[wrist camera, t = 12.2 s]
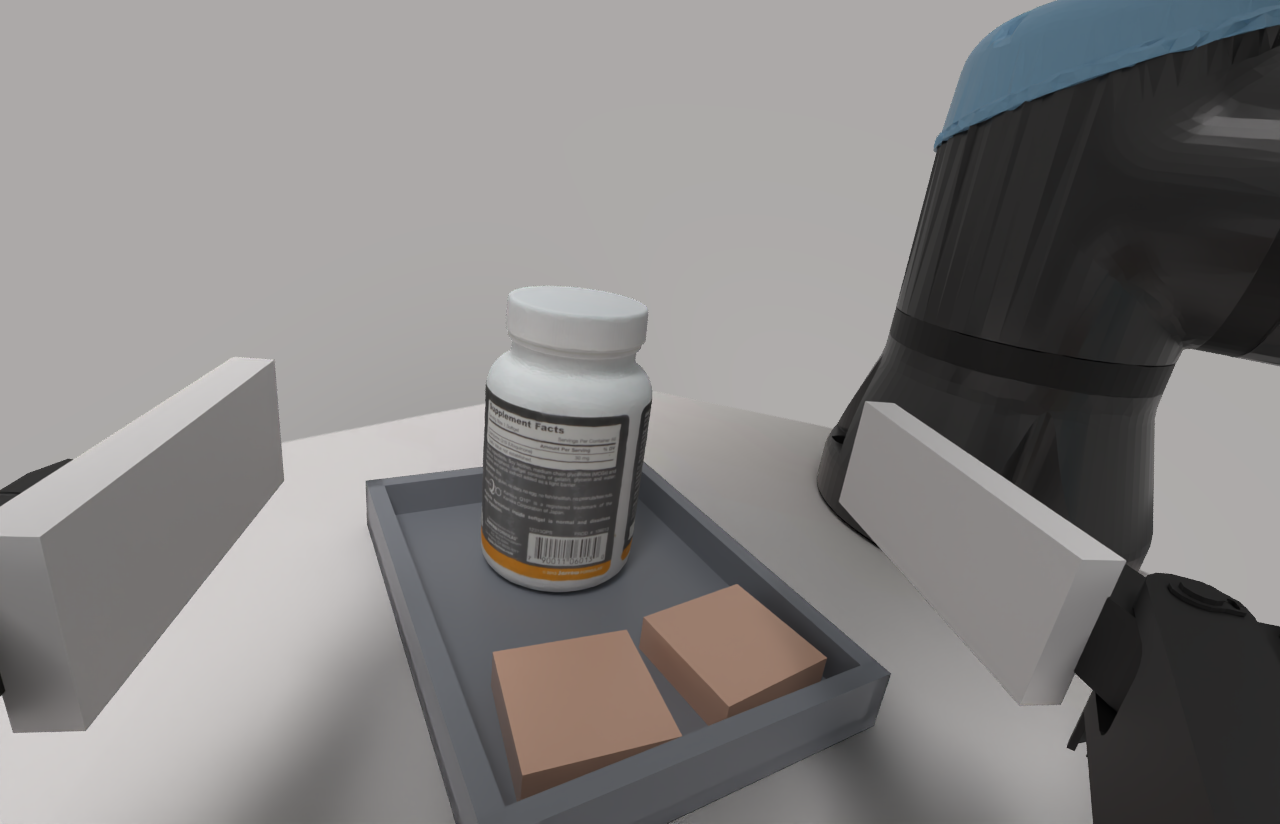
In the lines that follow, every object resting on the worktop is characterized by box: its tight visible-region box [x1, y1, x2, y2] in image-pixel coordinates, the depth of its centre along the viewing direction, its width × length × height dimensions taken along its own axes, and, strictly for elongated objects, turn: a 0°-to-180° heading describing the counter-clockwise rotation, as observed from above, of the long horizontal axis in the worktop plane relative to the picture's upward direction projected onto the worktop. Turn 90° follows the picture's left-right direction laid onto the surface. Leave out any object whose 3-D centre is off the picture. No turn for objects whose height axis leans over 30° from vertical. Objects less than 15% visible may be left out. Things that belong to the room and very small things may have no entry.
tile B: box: [491, 630, 682, 802], centre depth 17 cm, size 4×4×1 cm
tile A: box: [639, 584, 827, 726], centre depth 20 cm, size 4×4×1 cm
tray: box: [366, 461, 891, 824], centre depth 22 cm, size 12×16×2 cm
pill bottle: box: [481, 286, 652, 592], centre depth 23 cm, size 6×6×10 cm
